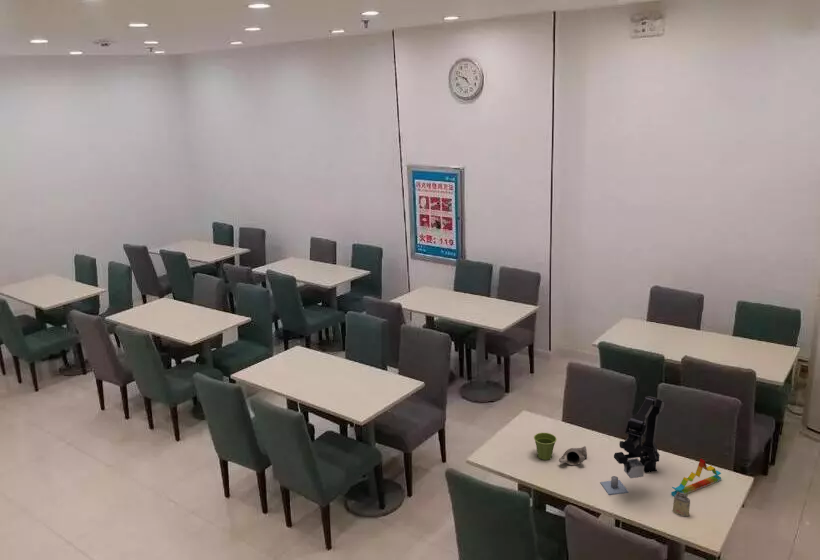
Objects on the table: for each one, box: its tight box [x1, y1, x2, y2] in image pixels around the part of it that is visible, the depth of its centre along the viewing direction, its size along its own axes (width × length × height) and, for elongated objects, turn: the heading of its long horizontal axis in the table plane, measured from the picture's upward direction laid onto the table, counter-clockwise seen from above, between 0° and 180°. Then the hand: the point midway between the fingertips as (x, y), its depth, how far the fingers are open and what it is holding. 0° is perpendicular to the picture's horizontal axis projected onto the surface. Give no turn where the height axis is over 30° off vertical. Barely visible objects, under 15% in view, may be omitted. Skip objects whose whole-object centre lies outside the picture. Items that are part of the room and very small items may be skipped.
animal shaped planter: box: [558, 445, 588, 466], centre depth 340 cm, size 16×9×15 cm
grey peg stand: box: [599, 475, 630, 496], centre depth 317 cm, size 10×10×6 cm
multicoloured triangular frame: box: [670, 458, 722, 498], centre depth 313 cm, size 30×3×15 cm, turn 115°
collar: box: [623, 458, 645, 479], centre depth 310 cm, size 7×7×6 cm
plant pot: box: [533, 432, 558, 461], centre depth 345 cm, size 12×12×11 cm
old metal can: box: [672, 492, 691, 517], centre depth 296 cm, size 7×4×10 cm, turn 53°
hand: (633, 471), depth 311 cm, fingers closed on collar, 7 cm apart
